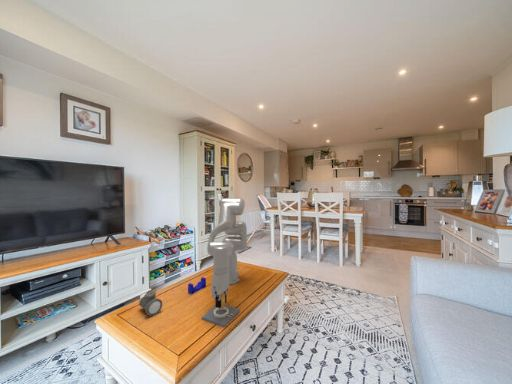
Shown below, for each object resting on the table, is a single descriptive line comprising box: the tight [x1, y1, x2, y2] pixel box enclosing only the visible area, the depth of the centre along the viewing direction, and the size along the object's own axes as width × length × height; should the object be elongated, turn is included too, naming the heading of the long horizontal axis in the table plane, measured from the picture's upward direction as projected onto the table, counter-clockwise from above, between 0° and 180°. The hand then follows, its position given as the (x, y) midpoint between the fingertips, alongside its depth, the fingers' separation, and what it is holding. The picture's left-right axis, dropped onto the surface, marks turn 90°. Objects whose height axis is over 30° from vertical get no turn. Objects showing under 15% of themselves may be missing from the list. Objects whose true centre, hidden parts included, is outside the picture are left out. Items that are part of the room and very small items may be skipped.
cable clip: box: [187, 276, 207, 295], centre depth 131 cm, size 12×4×6 cm, turn 146°
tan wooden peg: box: [217, 292, 226, 308], centre depth 104 cm, size 4×4×8 cm
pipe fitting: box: [138, 290, 163, 317], centre depth 108 cm, size 12×8×10 cm
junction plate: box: [201, 304, 240, 328], centre depth 104 cm, size 14×14×2 cm
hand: (221, 304), depth 104 cm, fingers closed on tan wooden peg, 4 cm apart
